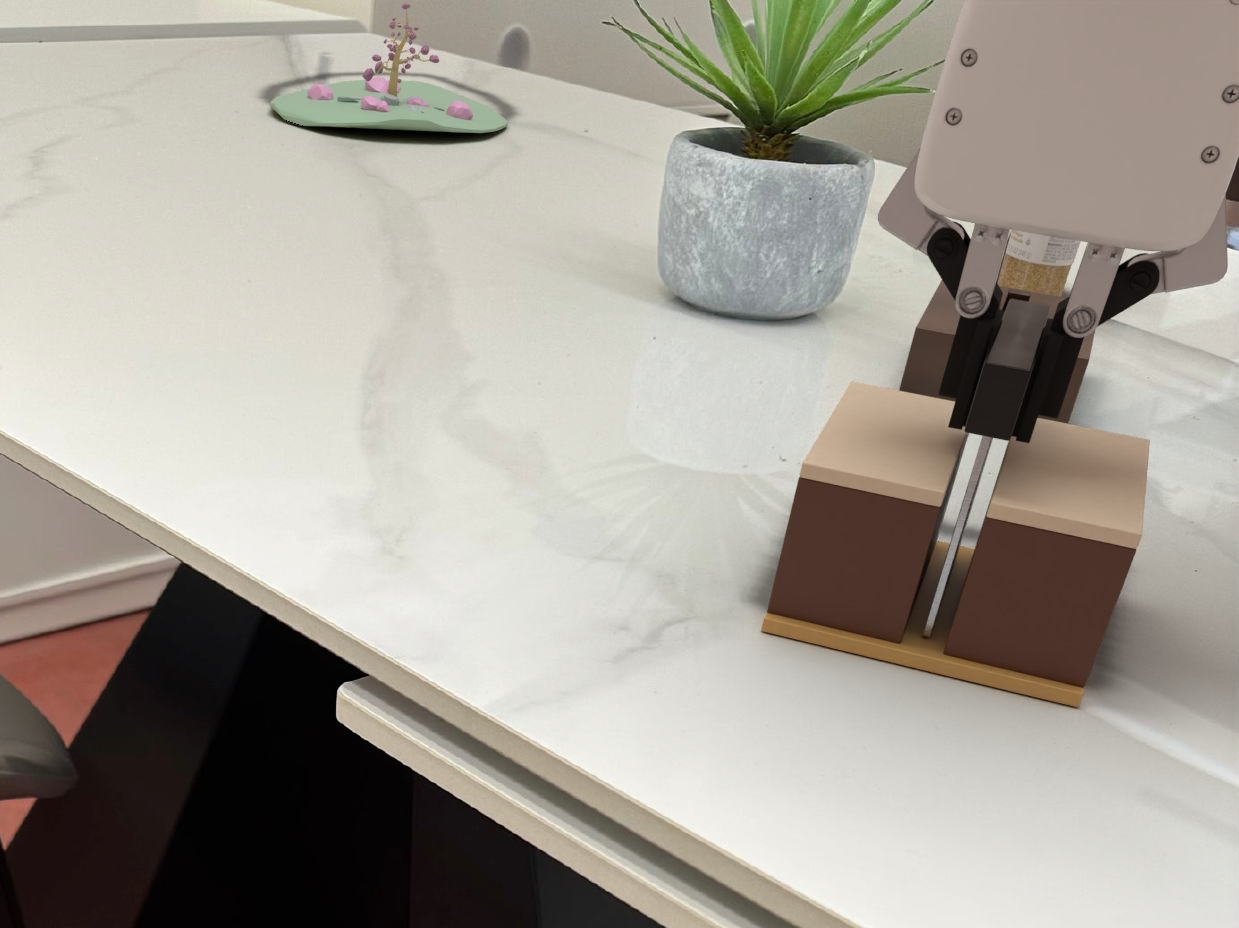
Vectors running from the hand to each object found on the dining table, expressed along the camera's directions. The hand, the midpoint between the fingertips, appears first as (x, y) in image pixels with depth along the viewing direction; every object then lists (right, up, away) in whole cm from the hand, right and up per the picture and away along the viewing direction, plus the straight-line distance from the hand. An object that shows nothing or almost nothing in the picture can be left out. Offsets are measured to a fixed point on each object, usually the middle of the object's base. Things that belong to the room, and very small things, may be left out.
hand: (992, 422), depth 62 cm
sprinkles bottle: (+18, +20, +43) cm, 51 cm away
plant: (-22, +51, +81) cm, 98 cm away
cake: (-1, -6, +5) cm, 8 cm away
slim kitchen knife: (-1, -6, +4) cm, 7 cm away
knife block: (+11, +11, +29) cm, 33 cm away
